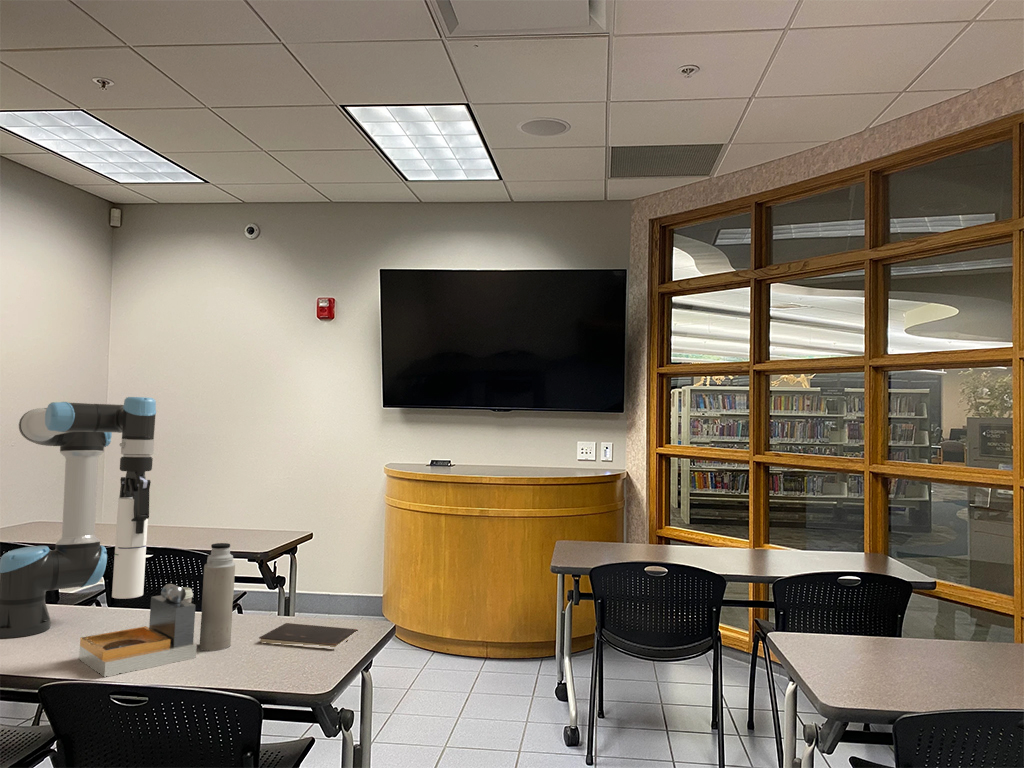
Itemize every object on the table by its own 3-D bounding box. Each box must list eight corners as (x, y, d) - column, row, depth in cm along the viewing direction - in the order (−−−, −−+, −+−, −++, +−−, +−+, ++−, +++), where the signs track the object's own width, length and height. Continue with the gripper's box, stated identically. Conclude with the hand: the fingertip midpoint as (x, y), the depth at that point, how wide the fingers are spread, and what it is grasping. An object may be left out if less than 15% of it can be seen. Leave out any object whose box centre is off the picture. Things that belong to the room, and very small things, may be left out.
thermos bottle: (222, 640, 201) (228, 540, 203) (235, 646, 196) (241, 544, 198) (194, 645, 196) (200, 543, 197) (207, 652, 190) (213, 547, 192)
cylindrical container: (129, 599, 179) (136, 499, 181) (105, 597, 181) (111, 498, 182) (149, 593, 186) (155, 497, 188) (125, 591, 188) (132, 496, 189)
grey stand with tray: (78, 659, 182) (83, 590, 183) (167, 642, 198) (171, 578, 199) (104, 677, 170) (109, 603, 171) (195, 657, 186) (200, 589, 187)
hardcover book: (335, 652, 195) (335, 644, 196) (258, 645, 200) (259, 637, 200) (357, 636, 211) (358, 628, 211) (286, 630, 215) (286, 622, 215)
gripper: (107, 454, 190) (101, 541, 188) (136, 457, 176) (130, 551, 175) (137, 454, 195) (131, 538, 194) (167, 457, 182) (161, 547, 180)
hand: (131, 544), depth 184 cm, fingers closed on cylindrical container, 7 cm apart
